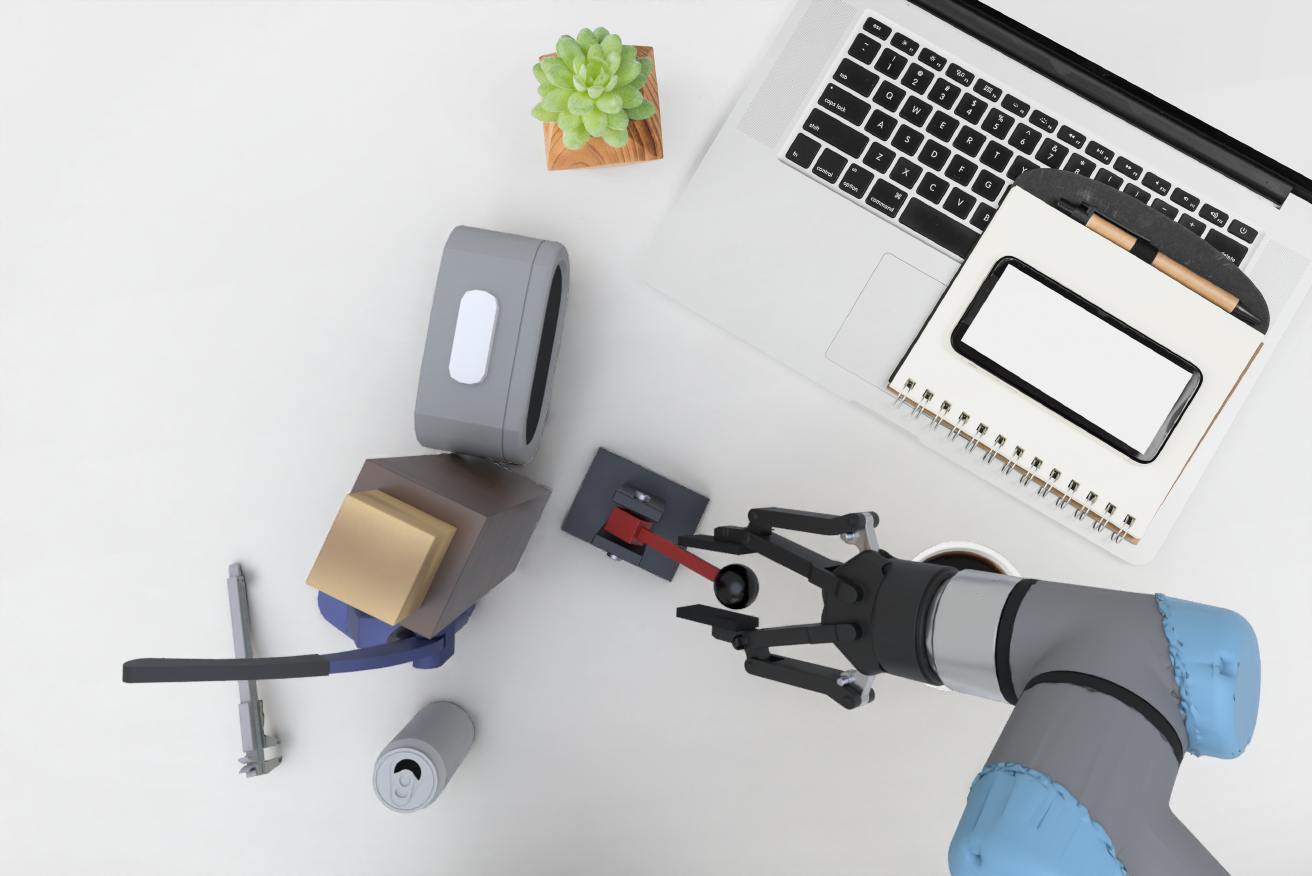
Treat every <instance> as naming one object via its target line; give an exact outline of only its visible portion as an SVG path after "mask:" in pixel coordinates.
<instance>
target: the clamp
mask: <svg viewBox="0 0 1312 876" xmlns="http://www.w3.org/2000/svg"><path fill="white" fill-rule="evenodd" d="M316 599H317V606H318V610H319V611H320V614H321V616H322V617H323V618H324V620H325V621H326V622H328V623H329V624H330V625H332V626H333V627H334V628H336V629H337V630H338V631H340V632H341V633H343V634H344V635H345V636H346V637H348V638H349V639H351V640H352V641H353V642H354V644H355V646H356V648H357V649H351V650H344V651H339V652H332V653H323V654H319V653H310V654H301V655H289V656H287V655H286V656H270V657H253V658H239V659H236V658H178V657H177V658H175V657H172V658H171V657H170V658H169V657H168V658H167V657H140V658H134V659H130V660H127V661H124V662H123V663H122V677H121V680H122V682H123V683H124V684H153V683H154V684H155V683H156V684H157V683H159V684H161V683H193V682H194V683H197V682H200V683H201V682H231V681H232V682H233V681H234V682H235V681H237V682H238V680H256V681H261V680H264V681H265V680H282V679H283V680H284V679H301V678H314V677H315V678H316V677H329V676H330V675H334V674H343V673H344V674H345V673H355V672H356V673H357V672H363V671H369V670H370V671H371V670H378V669H385V668H390V667H395V666H400V665H404V664H408V663H411V662H412V668H415V669H419V670H432V669H438V668H440V667H442V666H443V665H444V664H445V663H446V662H448V660H450V658H452V657H453V655H455V646H456V634H457V633H458V632H460V630H461V629H463V628H464V627H465V626H466V625H467V624H468V623H469V620H470V617H471V616H472V614H473V613H474V610H475V607H476V603H474V604H473V605H472V606H471V607H470V608H468V609H467V610H466V611H465V612H463V613H462V614H461V615H460V616H458V617H457V618H456V619H455V620H453V621H452V622H451V623H450V624H449V625H447V626H446V627H445V628H444V629H442V630H441V631H440V632H439V633H437V634H436V635H435V636H434V637H433V638H431V639H428V638H426V637H424V636H422V635H420V634H418V633H416V632H413V631H411V630H409V629H407V628H405V627H403V626H401V625H399V624H396V625H394V626H392V625H390V624H388V623H386V622H383V621H381V620H379V619H377V618H375V617H373V616H371V615H369V614H367V613H365V612H363V611H361V610H359V609H357V608H355V607H352V606H350V605H348V604H346V603H344V602H342V601H340V600H338V599H336V598H334V597H332V596H330V595H328V594H326V593H324V592H321V591H319V590H318V593H317V597H316Z"/></svg>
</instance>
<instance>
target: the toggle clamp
mask: <svg viewBox="0 0 1312 876" xmlns="http://www.w3.org/2000/svg"><path fill="white" fill-rule="evenodd" d="M710 501H711V499H710V498H709V497H708V496H705V495H703V494H702V493H699V492H697V491H695V490H693V489H691V488H689V487H687V486H685V485H683V484H680V483H678V482H676V481H674V480H672V479H670V478H668V477H666V476H663V475H661V474H659V473H657V472H655V471H653V470H650V469H648V468H646V467H645V466H642V465H641V464H638V463H636V462H634V461H632V460H630V459H628V458H626V457H623V456H621V455H619V454H617V453H615V452H613V451H611V450H609V449H607V448H605V447H602V446H599V447H598V449H597V451H596V454H595V456H594V458H593V460H592V462H591V463H590V466H589V468H588V471H587V472H586V475H585V477H584V479H583V481H582V483H581V485H580V487H579V490H578V492H577V493H576V496H575V498H574V500H573V502H572V504H571V506H570V509H569V511H568V512H567V515H566V517H565V518H564V521H563V523H562V526H561V528H560V530H561V531H563V532H564V533H566V534H569V535H571V536H573V537H575V538H577V539H580V540H582V541H584V542H585V543H588V544H590V545H592V546H594V547H596V548H598V549H600V550H602V551H604V552H606V556H607V557H608V558H609V559H612V560H614V561H617V562H622V560H623V561H625V562H627V563H629V564H631V565H633V566H635V567H638V568H640V569H642V570H644V571H647V572H649V573H650V574H653V575H654V576H657V577H658V578H661V579H663V580H665V581H667V582H670V583H671V582H672V581H673V579H674V577H675V575H676V572H677V570H678V568H679V566H680V565H681V564H680V563H678V562H676V561H675V560H673V559H671V558H669V557H668V556H666V555H664V554H662V553H660V552H659V551H657V550H655V549H653V548H652V547H650V546H648V545H646V544H645V543H643V545H642V546H639V545H634V544H629V543H627V542H625V541H623V540H622V539H620V538H618V537H616V536H615V535H613V534H611V533H609V532H608V531H606V530H604V528H605V526H606V524H607V522H608V520H609V517H610V515H611V513H612V511H613V509H614V507H615V506H617V507H620V508H624V509H628V510H630V511H632V512H634V513H636V514H637V515H639V516H641V517H643V518H645V519H647V520H648V521H650V522H652V523H653V524H652V526H651V528H650V530H651V531H653V532H655V533H656V534H658V535H660V536H662V537H664V538H665V539H667V540H669V541H671V542H673V543H674V544H676V545H678V536H685V535H695V532H696V530H697V528H698V526H699V524H700V522H701V520H702V518H703V515H704V514H705V511H706V509H707V508H708V505H709V503H710ZM678 546H679V545H678ZM680 547H682V548H684V549H685V550H687V549H688V547H685V546H680Z"/></svg>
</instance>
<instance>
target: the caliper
mask: <svg viewBox="0 0 1312 876" xmlns="http://www.w3.org/2000/svg"><path fill="white" fill-rule="evenodd" d="M226 585H227V596H228V602H229V604H228V605H229V611H230V622H231V631H232V639H233V649H234V657H235V658H234V659H239V658H254V653H253V652H254V651H253V643H252V634H251V625H250V615H249V607H248V598H247V590H246V580H245V576H243V575H242V569H241V564H240V563H238V562H237V563H233V564H230V565H228V578H227V577H226ZM237 684H238V692H239V693H238V694H239V702H240V703H238V704H237V707H238V708H237V709H238V716H239V726H240V736H241V746H242V752H243V753H245V756H244V757H240V758H237V761H238V763H241V764H242V765H243V766H242V767H241V768H240V770H239V771H238V774H239V775H240V774H244V773H245V776H246V779H249V778H253V777H258V776H259V777H260V776H263V775H267V774H269V773H270V772H272V771H274V769H276V768H278V766H279V765H281V764H282V762H283V756H278V757H274V758H270V759H266V757H265V749H267V748H272V747H276V746H277V745H280V744H281V741H280V739H279V738H277V737H273V736H270V735H267V734H265V730H264V727H265V712H264V701H263V699H259V694H258V686H257V680H238V681H237Z"/></svg>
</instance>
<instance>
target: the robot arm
mask: <svg viewBox="0 0 1312 876" xmlns="http://www.w3.org/2000/svg"><path fill="white" fill-rule="evenodd" d="M747 520H748V525H747V526H739V525H732V524H730V525H719V526H716V527H713V535H710V534H703V533H698V534H694V535H685V536H678V545H679V546H685V547H687V548H692V549H698V550H704V551H709V552H716V553H722V554H728V555H734V556H743V555H751V554H759V555H761V556H762V557H764V558H766V559H768V560H769V561H770V560H771V561H772V562H774V563H776V564H778V565H779V566H780V565H781V566H782V567H784V568H786V569H788V570H790V571H792V572H794V573H796V574H798V575H800V576H801V577H803V578H805V579H807V581H808V582H809V583H810V584H811V585H814V586H815V587H818V588H820V589H821V598H822V602H823V607H822V612H821V616H820V622H812V623H803V624H802V623H800V624H792V625H781V626H771V627H763V628H759V627H760V617H758V616H754V615H749V614H745V613H742V612H736V611H732V610H729V609H723V608H719V607H715V606H711V605H707V604H702V603H695V604H689V605H684V606H679V607H676V608H675V617H676V618H677V619H678V618H679V619H683V620H688V621H691V622H695V623H699V624H702V625H707V626H710V627H711V636H712V637H713V638H714V639H715V640H717V641H722V642H727V643H730V644H731V646H732V648H733V649H734V650H736V651H742V650H743V651H744V653H745V658H746V659H745V660H744V662H743V667H744V670H745V672H746V673H747V674H748V675H751V676H755V677H759V678H762V679H765V680H770V681H773V682H776V683H781V684H785V685H787V686H788V685H789V686H792V687H796V688H799V689H803V690H807V691H811V692H815V693H818V694H821V695H826V697H829V698H830V699H831V700H833V701H834V702H836V703H837V704H838V705H840V706H841V707H843V708H844V709H846V710H847V711H848V710H849V711H851V710H855V709H857V708H860V707H862V706H865V705H868V704H871V703H873V702H874V701H875V700H876V692H875V690H874V688H872V686H873V684H874V681H875V678H876V676H877V675H879V674H889V675H891V676H895V677H899V678H904V679H907V680H911V681H915V682H919V683H922V684H927V685H931V686H935V687H942V686H944V687H946V689H948V690H951V691H952V692H957V693H961V694H965V695H969V696H973V697H976V698H981V699H985V700H990V701H993V702H998V703H1002V704H1005V705H1010V706H1014V708H1013V709H1012V711H1011V714H1010V715H1009V717H1008V719H1007V721H1006V723H1005V725H1004V727H1003V729H1002V731H1001V733H1000V734H999V737H998V739H997V740H996V742H995V744H994V746H993V748H992V750H991V752H990V754H989V756H988V758H987V759H986V761H985V763H984V765H983V767H982V769H981V771H980V772H979V773H977V774H976V776H975V778H974V779H973V781H972V782H971V785H970V787H969V792H968V794H967V797H966V805H965V807H964V809H963V812H962V814H961V817H960V820H959V822H958V824H957V827H956V829H955V831H954V834H953V836H952V838H951V841H950V843H949V847H948V852H947V863H948V864H947V865H948V870H949V874H950V876H1232V875H1231V873H1230V872H1229V871H1227V869H1226V868H1225V867H1224V866H1223V865H1222V863H1220V862H1219V860H1217V859H1216V857H1215V856H1214V855H1213V854H1212V853H1211V852H1210V851H1209V850H1208V849H1207V848H1206V847H1205V846H1204V845H1203V843H1202V842H1201V841H1200V840H1199V839H1198V838H1197V836H1195V835H1194V833H1192V831H1191V830H1190V829H1189V828H1188V827H1187V826H1186V825H1185V824H1184V823H1183V822H1182V820H1180V819H1179V818H1178V816H1177V815H1176V814H1175V813H1174V812H1173V811H1172V809H1171V807H1170V801H1171V797H1172V793H1173V789H1174V786H1175V783H1176V780H1177V776H1178V774H1179V770H1180V767H1181V764H1182V762H1183V760H1184V758H1185V755H1186V753H1189V754H1190V756H1192V755H1193V756H1195V757H1196V758H1200V757H1203V756H1204V757H1210V758H1215V759H1221V760H1233V759H1237V758H1240V756H1241V755H1243V754H1244V753H1245V751H1246V748H1247V747H1248V745H1250V743H1251V741H1252V738H1253V736H1254V733H1255V729H1256V725H1257V720H1258V714H1259V709H1260V708H1259V707H1260V701H1261V700H1260V699H1261V698H1260V697H1261V682H1262V663H1261V654H1260V646H1259V641H1258V637H1257V634H1256V632H1255V630H1254V628H1253V626H1252V625H1251V623H1250V622H1249V621H1248V620H1247V618H1245V616H1243V615H1241V613H1239V612H1237V611H1235V610H1232V609H1229V608H1225V607H1220V606H1215V605H1211V604H1206V603H1202V602H1196V601H1193V600H1187V599H1182V598H1178V597H1172V596H1169V595H1168V596H1167V595H1166V594H1165V593H1162V592H1154V594H1152V593H1142V592H1133V591H1126V590H1118V589H1113V588H1104V587H1097V586H1089V585H1081V584H1074V583H1067V582H1059V581H1051V580H1044V579H1038V578H1032V577H1031V578H1030V577H1029V578H1028V577H1022V576H1017V575H1016V576H1015V575H1010V574H1003V573H997V572H990V571H984V570H977V569H971V568H964V569H962V570H959V569H958V568H957V567H955V566H951V565H944V564H936V563H930V562H921V561H914V560H910V559H909V560H906V559H902V558H898V557H895V556H893V554H891V553H890V552H889V551H887V550H886V549H883V548H880V545H879V542H878V538H877V534H876V531H875V529H876V528H877V527H878V526H879V525H880V521H881V520H880V516H879V514H878V513H877V512H875V511H873V510H872V511H857V512H850V513H846V514H842V515H837V514H831V513H830V514H829V513H824V512H823V513H822V512H815V511H808V510H800V509H794V508H787V507H779V506H766V507H754V508H753V507H752V508H750V509H749V510H748V512H747ZM775 528H776V529H782V530H788V531H794V532H799V533H800V532H802V533H808V534H814V535H819V536H830V537H831V536H839V537H840V540H841V541H842V542H844V543H845V544H847V545H852V546H855V547H856V548H857V549H858V551H859V553H857V554H856V555H854V556H852V557H851V558H849V559H848V560H847V561H845V562H842V561H839V560H836V559H835V560H834V559H831V558H828V557H827V556H825V555H822V554H821V553H818V552H817V551H814V550H812V549H811V548H808V547H806V546H804V545H801V544H800V543H797V542H795V541H793V540H791V539H789V538H787V537H785V536H782V535H780V534H778V533H776V532H774V531H775ZM822 644H823V645H824V644H833V645H834V646H835V647H836V648H837V650H838V651H839V652H840V653H841V654H842V655H843V656H844V658H845V659H847V661H848V662H849V663H850V664H851V666H853V667H854V668H855V669H854V668H851V669H847V670H841V669H839V668H835V667H830V666H826V665H823V664H818V663H814V662H809V661H805V660H802V659H801V660H800V659H797V658H793V657H788V656H785V655H780V654H776V653H773V652H772V653H771V650H770V648H775V647H787V646H801V645H822Z"/></svg>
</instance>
